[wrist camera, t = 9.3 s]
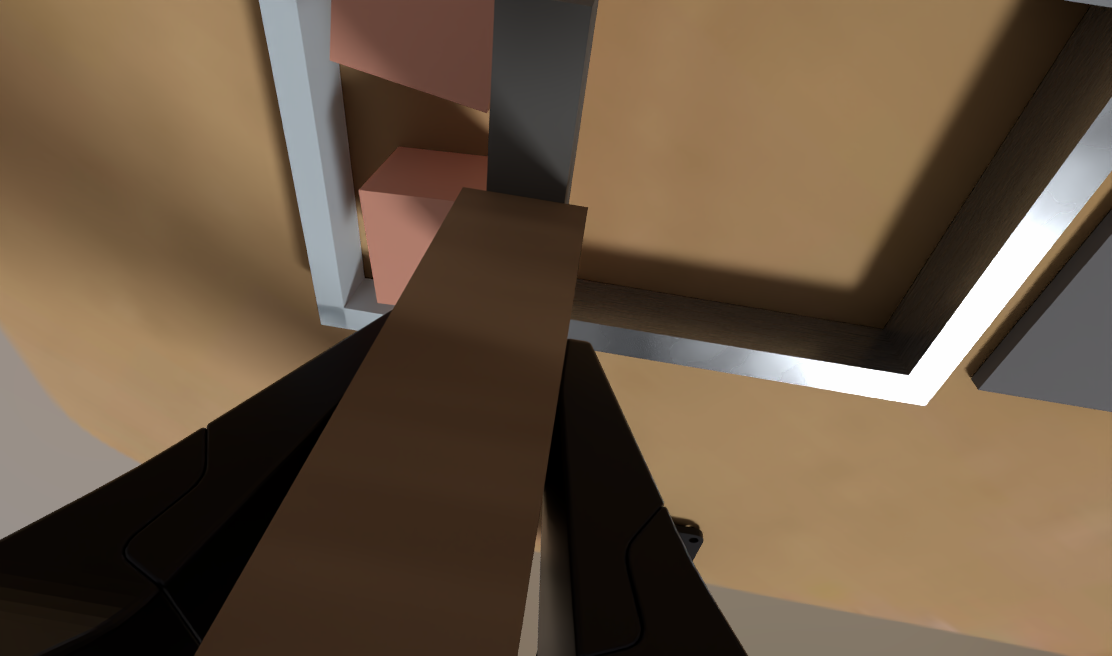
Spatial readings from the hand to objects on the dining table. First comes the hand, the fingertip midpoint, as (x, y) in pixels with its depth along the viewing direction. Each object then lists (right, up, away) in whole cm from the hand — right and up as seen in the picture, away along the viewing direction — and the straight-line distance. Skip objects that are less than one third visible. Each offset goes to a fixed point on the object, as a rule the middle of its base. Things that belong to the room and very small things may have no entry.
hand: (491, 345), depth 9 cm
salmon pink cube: (-2, +5, +11) cm, 12 cm away
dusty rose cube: (-2, +10, +6) cm, 12 cm away
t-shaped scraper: (+1, +3, +4) cm, 5 cm away
